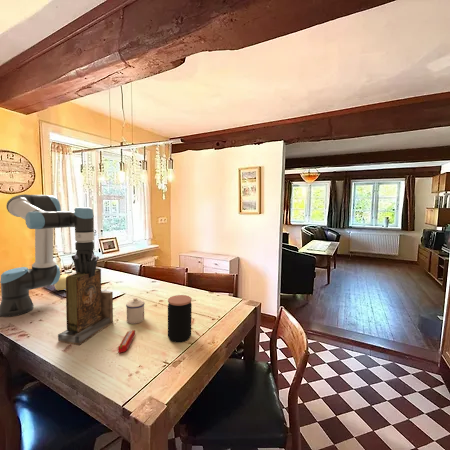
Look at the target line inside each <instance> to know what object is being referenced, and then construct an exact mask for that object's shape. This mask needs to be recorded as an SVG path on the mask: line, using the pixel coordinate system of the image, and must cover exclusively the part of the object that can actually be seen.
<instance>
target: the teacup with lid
mask: <svg viewBox="0 0 450 450" xmlns="http://www.w3.org/2000/svg"><path fill="white" fill-rule="evenodd" d="M145 305H146V303H145V301H144V300H142V299H138V298H137V297H134V298H133V299H132V300H129V301H128V302H127V303H126V305H125V307H126V322H127V323H128V324H133V325H134V324H139V323H142V322H143V321H144V320H145Z"/></svg>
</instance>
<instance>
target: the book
mask: <svg viewBox="0 0 450 450" xmlns="http://www.w3.org/2000/svg"><path fill="white" fill-rule="evenodd" d="M69 275H70V276H67V277H66V290H65V298H66V299H65V303H66V306H65V309H66V310H65V311H66V315H65V316H66V317H65V318H66V330H67V331H76V332H77V333H79V332H81V331H83V330H85V329H86V328H88V327H89V326H91V325H93V324H94V323H96V322H97V321H99V320H101V291H102V269H101V268H98V267H96V270H95V275H94V276H93V277H89V273H88V274H85V273H83V274H80V272H79V273H76V272H75V273H73V274H69Z"/></svg>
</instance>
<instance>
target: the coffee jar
mask: <svg viewBox="0 0 450 450" xmlns="http://www.w3.org/2000/svg"><path fill="white" fill-rule="evenodd" d="M167 303H168V305H167V337H168V340H170V341H171V342H173V343H177V344H178V343H184V342H187V341H189V339H190V337H192V305H193V304H192V297H191V296H189V295H184V294H177V295H171V296H170V297H169V298H168V300H167Z"/></svg>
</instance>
